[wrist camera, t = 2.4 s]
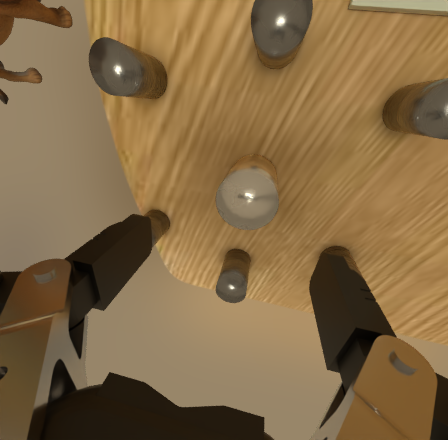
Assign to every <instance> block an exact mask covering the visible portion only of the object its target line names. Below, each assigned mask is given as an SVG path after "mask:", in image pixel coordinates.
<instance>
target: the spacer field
mask: <svg viewBox="0 0 448 440" xmlns="http://www.w3.org/2000/svg"><path fill="white" fill-rule="evenodd" d="M312 9H313V3H312V0H255V2H254V5H253V8H252V13H251V28H252V33H253V37H254V41H255V45H256V48H257V52H258V56H259V58H260V60H261V62H262V63H263V64H264V65H265V66H266V67H268V68H271V69H280V68H283V67H285V66H286V65H288V64H289V63H290V62H291V61H292V60H293V59H294V57H295V56H296V54H297V52H298V49H299V47H300V45H301V43H302V40H303V38H304V36H305V34H306V31H307V29H308V27H309V24H310V21H311V17H312ZM89 66H90V70H91V73H92V76H93V78H94V80H95V81H96V83H97V84H98V86H99V87H100V88H101V89H102V90H103V91H105V92H106V93H108V94H110V95H114V96H126V97H138V98H149V99H156V98H159V97H160V96H161V95H162V94H163V93H164V92H165V90H166V86H167V75H166V71H165V69H164V67H163V65H162V64H161V62H160V61H159V60H157V59H156V58H154V57H152V56H150V55H148V54H145V53H143V52H141V51H139V50H136V49H134V48H132V47H129V46H127V45H125V44H123V43H120V42H118V41H116V40H113V39H111V38H107V37H104V38H100V39H98V40H96V41H95V42H94V43H93V45H92V47H91V49H90V53H89ZM383 121H384V123H385V125H386V126H387V127H388V128H389V129H391V130H394V131H399V132H405V133H410V134H416V135H422V136H428V137H433V138H439V139H448V78H446V79H441V80H435V81H429V82H424V83H418V84H412V85H408V86H405V87H403V88H401V89H399V90H398V91H397V92H395V93H394V94H393V95H392V96H391V97H390V98H389V100H388V101H387V103H386V105H385V107H384V110H383ZM144 216H147V217H149V218H150V219H151V228H152V242H153V245H152V247H153V246H154V245H155V244H156V243H157V242H158V240H159V239H160V238H161V237H162V236H163V235H164V234H165V232H166V231H167V230H168V229H169V227H170V222H169V219H168V217H167V216H166V215H165V214H164V213H163V212H161V211H159V210H151V211H149V212H148V213H147V214H145V215H144ZM323 252H326V253H331V254H336V255H341V256H343V257H344V258H345V260H346V262H347V264H348V266H349V268H350V269H351V270H355V271H356V272H357V273H358V274H359V275H360V276H361V277H362V278H363V276H362V275H361V273H360V271H359V269H358V267H357V265H356V263H355V262H354V260H353V258H352V256H351V254H350V252H349V251H348V250H347V249H345V248H343V247H330V248H328V249H326V250H324V251H323ZM323 252H322V253H323ZM322 253H321V254H322ZM320 256H321V255H320ZM250 262H251V260H250V257H249V255H248V254H247V253H246V252H244V251H242V250H239V249H234V250H231V251H229V252H228V253H227V254H226V257H225V260H224V263H223V266H222V269H221V273H220V276H219V279H218V282H217V285H216V293H217V295H218V296H219V297H220V298H221V299H223V300H224V301H226V302H230V303H237V302H240V301H242V300H243V299H244V298H245V296H246V290H247V283H248V276H249V269H250ZM363 279H364V278H363ZM370 293H371V292H370Z"/></svg>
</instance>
